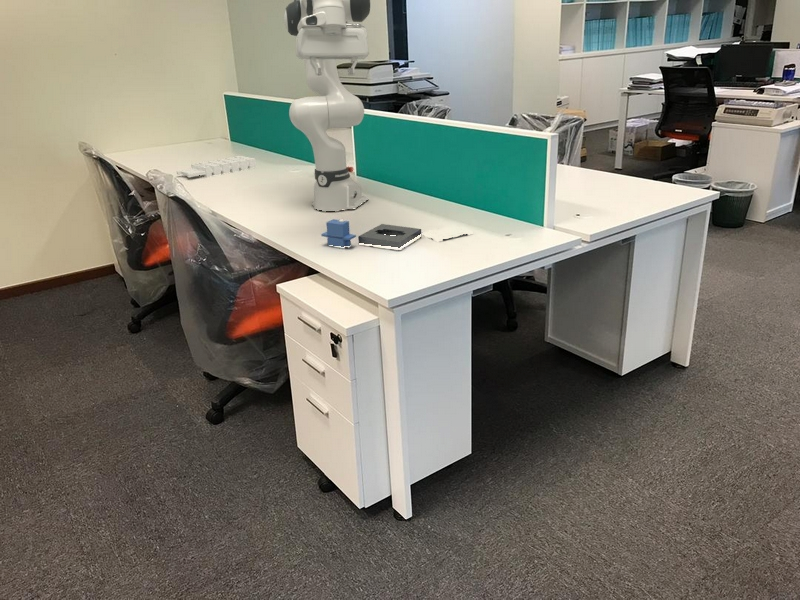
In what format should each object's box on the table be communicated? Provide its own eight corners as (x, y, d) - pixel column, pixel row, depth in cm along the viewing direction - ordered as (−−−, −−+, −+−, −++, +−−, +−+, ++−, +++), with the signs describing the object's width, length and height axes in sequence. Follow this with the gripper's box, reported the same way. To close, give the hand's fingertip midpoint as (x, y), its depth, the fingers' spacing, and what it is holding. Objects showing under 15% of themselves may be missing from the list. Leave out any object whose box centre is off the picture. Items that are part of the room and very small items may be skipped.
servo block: (328, 242, 191) (326, 215, 188) (356, 246, 187) (355, 219, 183) (322, 245, 188) (319, 218, 185) (350, 249, 184) (348, 222, 180)
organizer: (255, 158, 300) (188, 170, 277) (256, 168, 302) (190, 181, 279) (240, 155, 308) (174, 167, 285) (241, 165, 310) (176, 177, 287)
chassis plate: (382, 232, 199) (381, 223, 198) (421, 237, 192) (421, 228, 191) (358, 245, 187) (358, 236, 186) (399, 251, 181) (399, 242, 180)
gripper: (363, 27, 178) (367, 77, 180) (291, 26, 172) (297, 78, 173) (369, 20, 172) (374, 71, 174) (295, 18, 166) (301, 72, 167)
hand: (335, 75), depth 174 cm, fingers open, 8 cm apart
